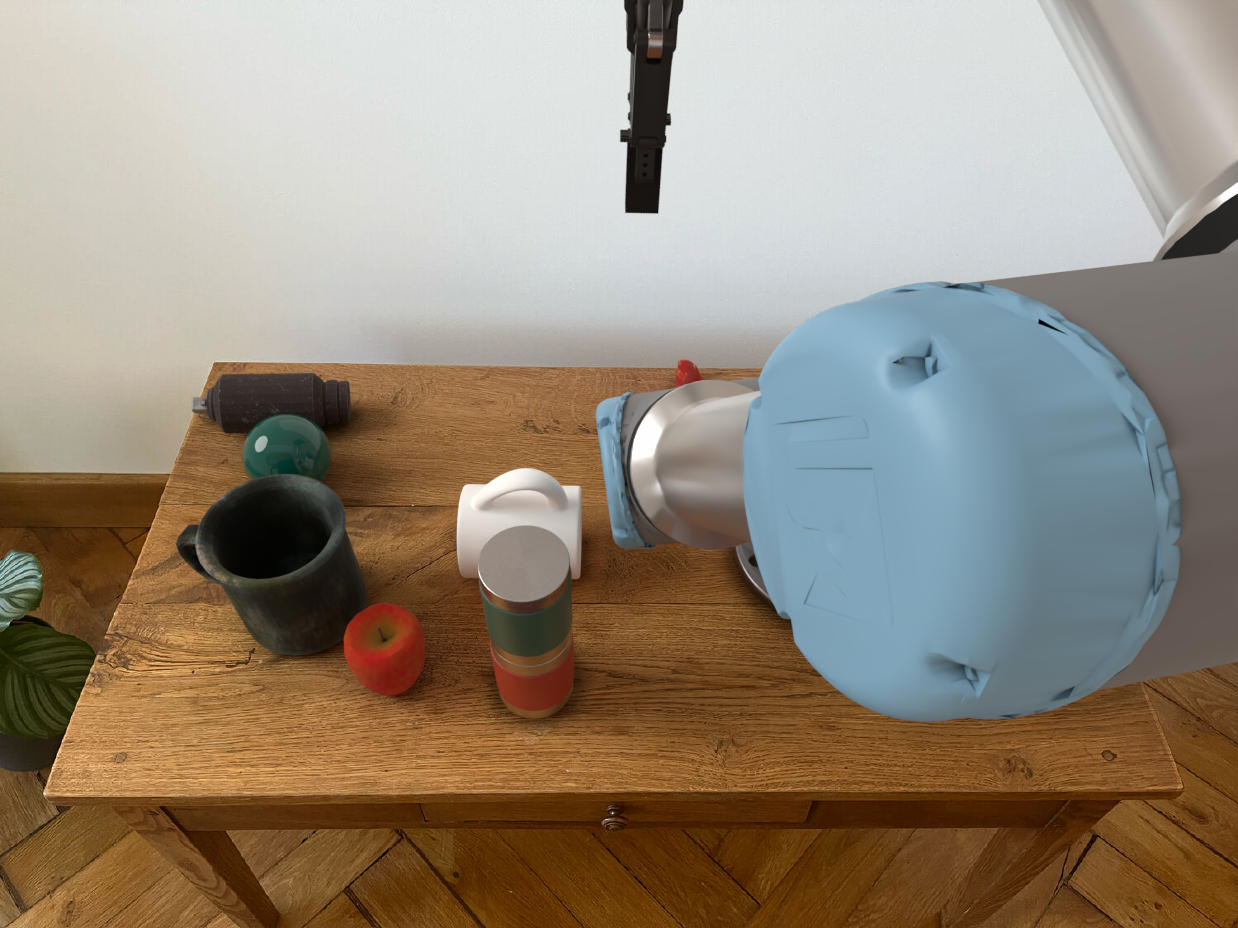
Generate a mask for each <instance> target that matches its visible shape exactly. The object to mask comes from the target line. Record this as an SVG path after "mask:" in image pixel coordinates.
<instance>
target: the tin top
mask: <svg viewBox="0 0 1238 928" xmlns="http://www.w3.org/2000/svg"><path fill="white" fill-rule="evenodd" d="M478 574H479V578H478V586H479V592H480V597H481V603H482V609H483V616H484V620H485V626H486V630H487V633H488V637H489V642H490V641H491V644H492V646H493V648H494V649H495V651H496V652H497V653H498V654H499V655H500V656H501V657H502V658H504V659H505V660H507V661H509V662H511V663H513V664H516V665H520V666H537V665H541V664H544V663H547V662H549V661H551V660H553V659H554V658H556V657H557V656H558V655H559V654H560V653H561V652H562V651H563V650H564V649H565V648H566V646H567V644H568V642H569V640H570V637H571V633H572V632H573V619H574V618H573V617H574V615H573V614H574V613H573V612H574V611H573V583H572V581H573V579H572V576H571V567H570V557H569V552H568V550H567V548H566V546H565V544H564V543H563V541H562V540H561V539H560V538H559V537H558V536H557V535H555V534H554V533H553V532H551V531H549V530H547V529H545V528H541V527H538V526H531V525H521V526H514V527H510V528H507V529H505V530H503V531H501V532H499V533H497V534H496V535H494V536H493V537H492V538H491V539H490V540H489V541H488V542H487V543H486V544H485V545H484V547H483V549H482V550H481V552H480V555H479V558H478Z"/></svg>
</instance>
